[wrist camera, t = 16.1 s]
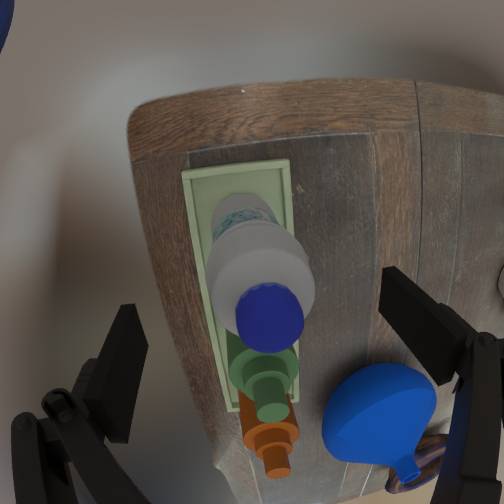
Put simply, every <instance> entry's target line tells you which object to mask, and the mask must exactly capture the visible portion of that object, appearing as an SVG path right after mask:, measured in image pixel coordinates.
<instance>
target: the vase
mask: <svg viewBox="0 0 504 504" xmlns="http://www.w3.org/2000/svg"><path fill="white" fill-rule="evenodd" d="M436 400H437V398H436V393H435V389H434V387H433V385H432V384H431V382H430V381H429V380H428V379H427V377H426V376H425V375H424V374H422V373H420V372H419V371H417V370H415V369H412V368H410V367H408V366H406V365H404V364H397V363H377V364H373V365H370V366H366V367H364V368H362V369H360V370H358V371H356V372H354V373H353V374H351V375H350V376H348V377H347V378H346V379H345V380H344V381H342V382H341V383H340V384H339V385H338V386H337V388H336V389H335V391H334V392H333V393H332V395H331V397H330V399H329V401H328V403H327V405H326V408H325V410H324V416H323V423H322V437H323V440H324V444H325V446H326V448H327V450H328V451H329V452H330V453H331V454H332V455H333V456H334V457H335V458H337V459H338V460H340V461H345V462H353V463H368V464H378V465H386V466H389V467H392V468H393V469H394V470H395V471H396V473H397V476H398V478H399V480H400V482H401V484H405V483H408V482H410V481H412V480H414V479H415V478H417V477H418V476H419V475H420V474H421V471H420V469H419V467H418V465H417V464H416V462H415V460H414V452H415V448H416V446H417V444H418V442H419V440H420V438H421V436H422V434H423V432H424V430H425V428H426V427H427V425H428V423H429V421H430V419H431V417H432V415H433V413H434V410H435V408H436Z"/></svg>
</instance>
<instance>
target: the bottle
mask: <svg viewBox="0 0 504 504" xmlns="http://www.w3.org/2000/svg"><path fill="white" fill-rule="evenodd" d="M211 233H212V239H213V243H212V248H211V250H210V252H209V255H208V259H207V264H206V270H205V280H206V285H207V289H208V291H209V295H210V299H211V303H212V307H213V310H214V313H215V315H216V317H217V319H218V320H219V322H220V323H221V324H222V325H223V326H224V327H225V328H226V329H227V330H229V331H230V332H231V333H233V334H235V335H237V336H239V337H240V338H241V340H242V341H243V342H244V343H245V345H246V346H248V347H250V348H251V349H253V350H255V351H257V352H261V353H277V352H281V351H283V350H286V349H287V348H289V347H290V346H292V345H293V344H294V343H295V342H296V341H297V340H298V339H299V337H300V335H301V334H302V330H303V328H304V319H305V318H306V317H307V315H308V314H309V312H310V310H311V308H312V305H313V302H314V298H315V282H314V279H313V275H312V272H311V269H310V266H309V263H308V259H307V255H306V253H305V251H304V249H303V247H302V246H301V244H300V243H299V242H298V241H297V240H296V239H295V238H294V237H293V236H292V234H291V233H290V232H288V231H287V230H286V229H285V228H283V227H281V226H280V225H279V223H278V222H277V220H276V217H275V215H274V213H273V211H272V209H271V208H270V206H269V205H268V204H267V203H266V202H265V201H264V200H262V199H261V198H260V197H258V196H256V195H251V194H233V195H231V196H229V197H228V198H226V199H225V200H224V201H222V202H221V203H220V204H219V205H218V206H217V208H216V209H215V211H214V213H213V217H212V221H211Z"/></svg>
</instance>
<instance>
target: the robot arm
mask: <svg viewBox="0 0 504 504" xmlns="http://www.w3.org/2000/svg"><path fill="white" fill-rule="evenodd" d="M378 311H379V312H380V313H381V315H382V316H383V317H384V318H385V319H386V321H387V322H388V323H389V324H390V326H391V327H392V328H393V329H394V330H395V332H396V333H397V334H398V335H399V337H400V338H401V339H402V340H403V342H404V343H405V344H406V345H407V347H408V348H409V349H410V350H411V352H412V353H413V354H414V355H415V357H416V358H417V359H418V361H419V362H420V363H421V364H422V366H423V367H424V368H425V370H426V371H427V372H428V373H429V375H430V376H431V377H432V379H433V380H434V381H435V383H436V384H437V385H438V386H441V385H443V384H446V383H448V382H450V381H451V380H452V378H453V375H454V373H455V371H456V373H457V374H458V375H459V378H458V380H457V383H456V385H455V387H454V390H453V392H452V393H453V394H454V393H455V391H456V394H455V401H454V407H453V414H452V419H451V425H450V430H449V435H448V440H447V444H446V449H445V453H444V457H443V461H442V465H441V469H440V473H439V476H438V480H437V483H436V486H435V490H434V493H433V496H432V499H431V502H430V504H499V502H500V496H501V491H502V483H501V481H498V480H497V479H496V473H497V466H498V457H499V449H500V435H501V418H502V422H503V428H504V338H503V339H497V338H496V337H495V336H494V335H492V334H491V333H488V332H479V333H478V332H477V331H476V330H475V329H474V328H472V327H471V326H470V325H469V324H468V323H467V322H466V321H465V320H464V319H463V318H462V319H461V317H460V316H459V315H458V314H456V312H455V311H454V310H453V309H452V308H450V307H449V306H447V305H445V304H443V303H439V304H438V303H437V302H435V301H434V300H433V299H432V298H431V297H430V296H429V295H428V294H426V293H425V292H424V291H423V290H422V289H421V288H420V287H418V286H417V285H416V284H415V283H414V282H413V281H412V280H410V279H409V278H408V277H407V276H406V275H405V274H403V273H402V272H401V271H400V270H399V269H397V268H396V267H395V266H391V267H386V268H383V271H382V282H381V292H380V301H379V309H378ZM147 350H148V343H147V340H146V337H145V334H144V331H143V328H142V325H141V322H140V319H139V316H138V313H137V309H136V306H135V304H126V305H121V306H120V309H119V311H118V313H117V315H116V317H115V319H114V322H113V324H112V326H111V328H110V331H109V333H108V335H107V338H106V340H105V342H104V345H103V347H102V349H101V352H100V354H99V356H98V358H94V359H93V358H91V359H89V360H88V361H87V362H86V363H85V364H84V365H83V366H82V368H81V371H80V373H79V376H78V377H77V380H76V382H75V384H74V387H73V389H72V392H71V394H70V393H69V392H68V391H67V390H66V389H63V388H58V389H54V390H51V391H50V392H48V393H47V394H46V395H45V396H44V398H43V399H42V402H41V405H42V408H43V410H44V411H45V413H46V414H47V415H48V417H49V418H44V419H38V420H37V418H36V417H35V416H34V415H33V414H32V413H29V412H23V413H21V414H19V415H17V416H16V417H15V418H14V420H13V421H12V425H11V452H12V469H13V480H14V490H15V498H16V504H79V503H78V500H77V496H76V493H75V489H74V485H73V482H72V477H71V473H70V469H69V465H68V462H73V464H74V466H75V468H76V470H77V471H78V473H79V475H80V477H81V478H82V480H83V482H84V483H85V485H86V487H87V488H88V490H89V492H90V493H91V495H92V496H93V498H94V499H95V501H96V502H97V504H151V503H150V502H149V501H148V499H147V498H146V497H145V496H144V495H143V494H142V492H141V491H140V490H139V489H138V488H137V486H136V485H135V484H134V483H133V482H132V480H131V479H130V478H129V476H128V475H127V474H126V473H125V471H124V470H123V469H122V468H121V466H120V465H119V463H117V461H116V459H115V458H114V457H113V456H112V454H111V453H110V451H109V450H108V448H107V447H106V446H105V445H104V443H103V442H104V438H105V435H106V437H107V438H108V440H109V441H110V442H111V443H124V444H127V443H128V439H129V434H130V428H131V423H132V418H133V413H134V408H135V403H136V398H137V394H138V389H139V385H140V380H141V376H142V371H143V367H144V362H145V358H146V354H147Z"/></svg>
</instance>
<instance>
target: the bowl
mask: <svg viewBox="0 0 504 504" xmlns="http://www.w3.org/2000/svg"><path fill="white" fill-rule="evenodd" d="M448 435H449V434H438V435H430V436H425V437H421V438H420V440H419V442H418V444H417V446H416V448H415V452H414V460H415V462H416V464H417V465H418V467H419V469H420V471H421V474H420V475H419V476H418V477H417V478H415V479H414V480H412V481H410V482H408V483H405V484H401V482H400V480H399V478H398V476H397V473H396V471H395V470H394V469H393V468H392V467H390V468H389V478H388V480H387V482H386V485H385V489H386V491H387V492H389V493H392V494H396V493H401V492H406V491H410V490H413V489H416V488H418V487H420V486H422V485H424V484H425V483H427V482H429V481H430V480H432V479H433V478H435V477H436V476H437V475H439V473H440V469H441V465H442V461H443V457H444V453H445V449H446V444H447V440H448Z"/></svg>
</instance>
